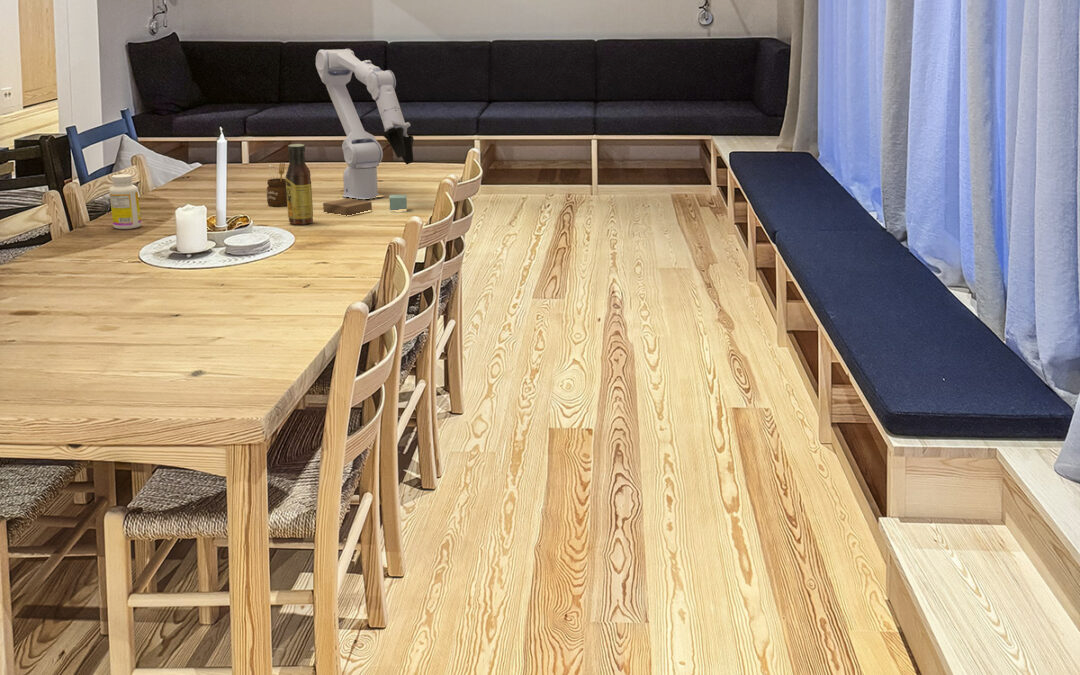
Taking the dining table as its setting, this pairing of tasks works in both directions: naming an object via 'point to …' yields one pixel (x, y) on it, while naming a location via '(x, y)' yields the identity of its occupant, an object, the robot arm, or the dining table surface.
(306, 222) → the sauce bottle
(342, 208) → the walnut slab
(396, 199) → the teal block
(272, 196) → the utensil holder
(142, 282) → the dining table surface
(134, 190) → the supplement bottle
